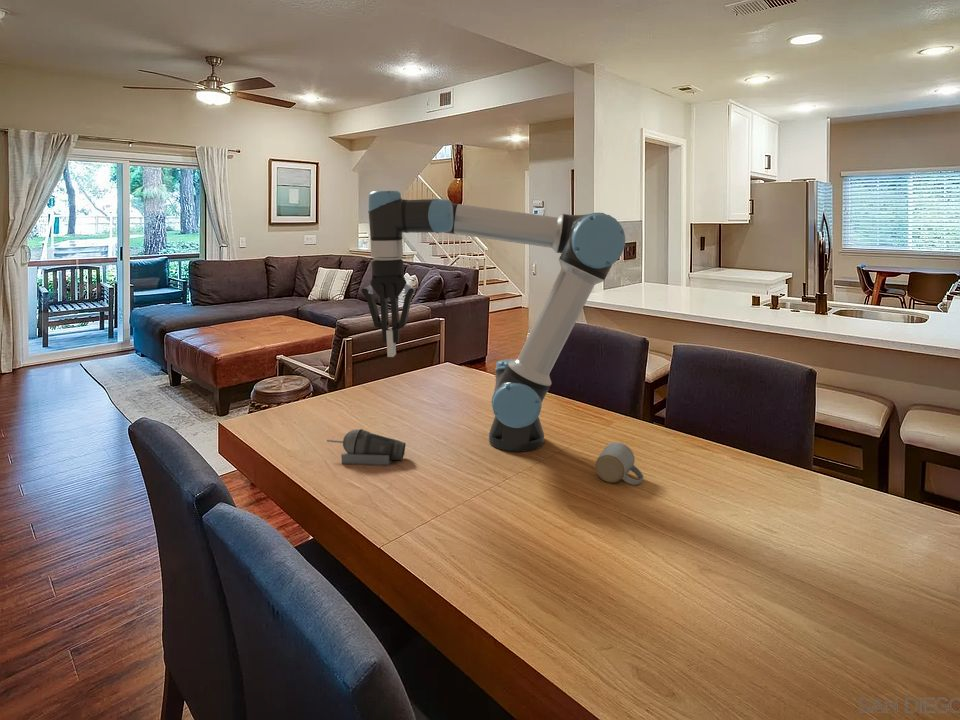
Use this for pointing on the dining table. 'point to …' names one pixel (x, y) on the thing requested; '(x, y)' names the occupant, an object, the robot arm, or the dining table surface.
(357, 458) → the cradle
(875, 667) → the dining table surface
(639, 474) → the ceramic mug
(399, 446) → the beverage cup
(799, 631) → the dining table surface
